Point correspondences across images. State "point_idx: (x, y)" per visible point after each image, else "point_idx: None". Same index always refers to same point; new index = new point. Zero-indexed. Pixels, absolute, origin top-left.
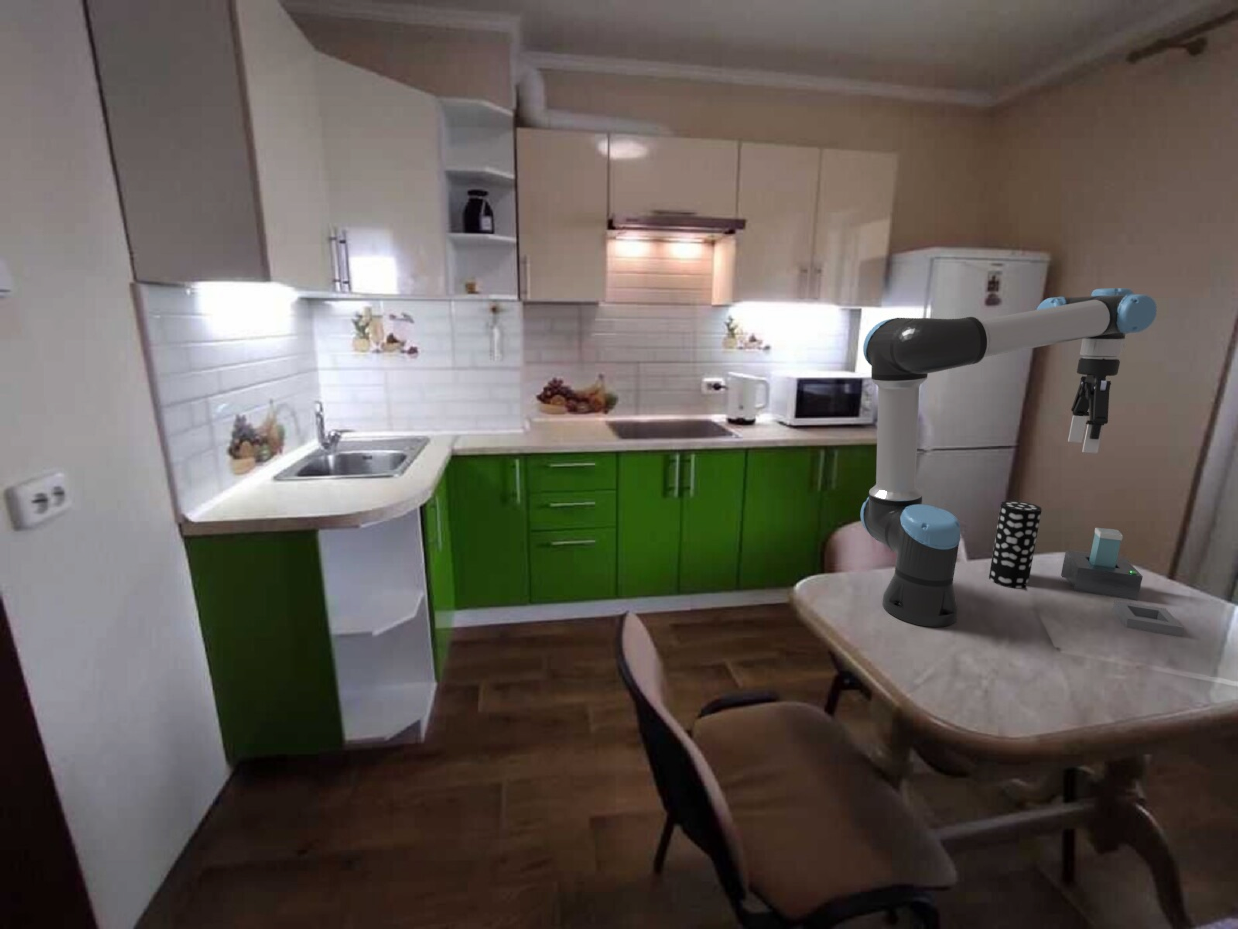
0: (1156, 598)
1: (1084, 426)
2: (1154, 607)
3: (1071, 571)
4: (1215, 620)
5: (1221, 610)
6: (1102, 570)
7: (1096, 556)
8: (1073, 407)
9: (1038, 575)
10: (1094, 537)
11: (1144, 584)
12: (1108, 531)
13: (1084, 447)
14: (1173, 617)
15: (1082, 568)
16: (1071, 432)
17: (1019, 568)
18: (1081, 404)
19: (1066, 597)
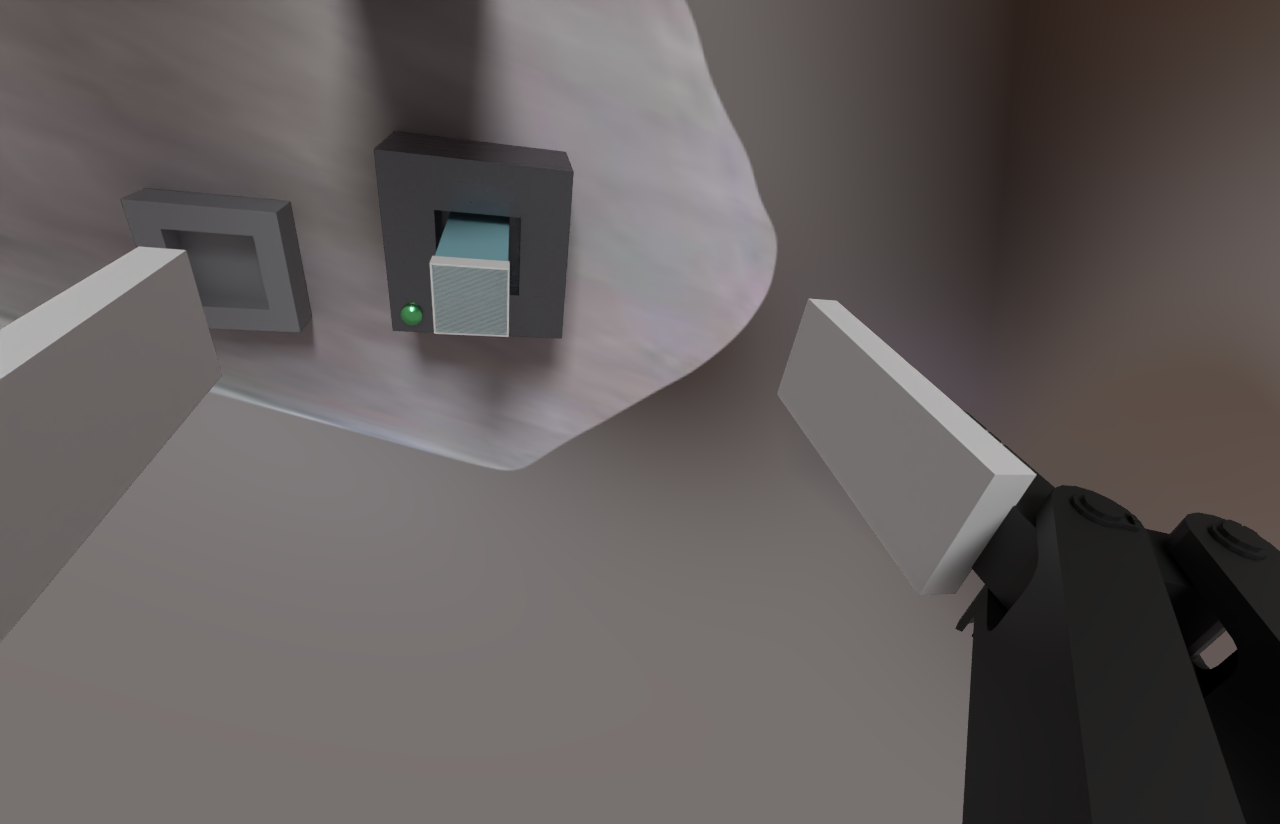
0: (484, 355)
1: (854, 495)
2: (290, 307)
3: (454, 149)
4: (396, 425)
5: (471, 454)
6: (384, 226)
7: (443, 232)
8: (1231, 576)
9: (535, 65)
10: (504, 255)
11: (579, 360)
12: (469, 299)
13: (107, 273)
14: (236, 328)
15: (376, 162)
16: (855, 353)
17: None
18: (1042, 731)
19: (351, 97)
